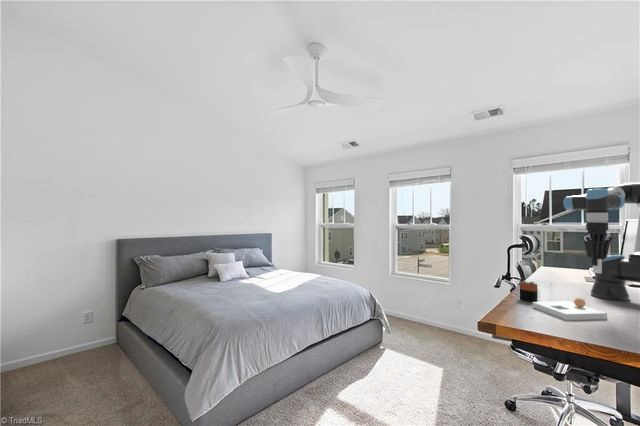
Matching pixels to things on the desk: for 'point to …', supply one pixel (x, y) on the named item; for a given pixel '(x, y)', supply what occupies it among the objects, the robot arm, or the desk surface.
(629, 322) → the desk surface
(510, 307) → the desk surface
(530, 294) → the battery
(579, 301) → the ball
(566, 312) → the white flat square slab
